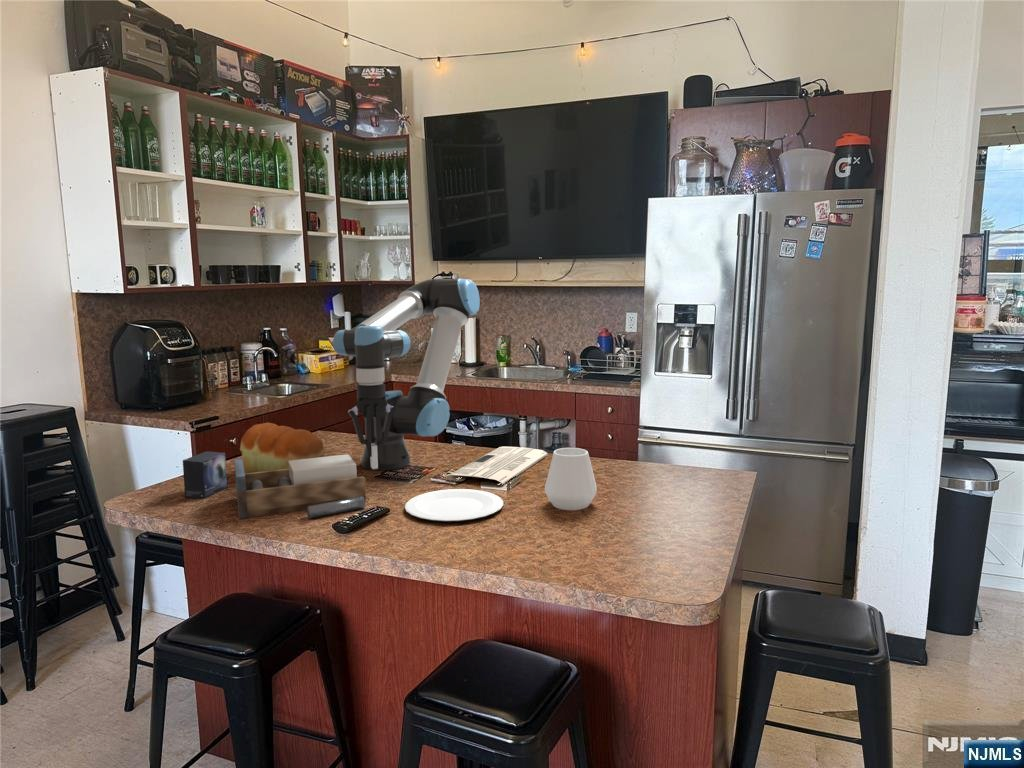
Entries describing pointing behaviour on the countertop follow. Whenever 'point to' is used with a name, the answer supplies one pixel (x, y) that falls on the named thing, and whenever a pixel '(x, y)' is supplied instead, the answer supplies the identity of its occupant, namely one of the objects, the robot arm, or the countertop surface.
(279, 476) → the roller bed
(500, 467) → the newspaper
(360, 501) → the roller
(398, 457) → the robot arm
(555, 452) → the cup
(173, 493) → the countertop surface
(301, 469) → the slab
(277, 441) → the bread
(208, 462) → the small box
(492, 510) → the plate
